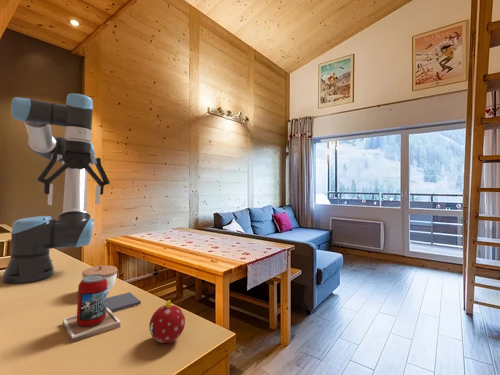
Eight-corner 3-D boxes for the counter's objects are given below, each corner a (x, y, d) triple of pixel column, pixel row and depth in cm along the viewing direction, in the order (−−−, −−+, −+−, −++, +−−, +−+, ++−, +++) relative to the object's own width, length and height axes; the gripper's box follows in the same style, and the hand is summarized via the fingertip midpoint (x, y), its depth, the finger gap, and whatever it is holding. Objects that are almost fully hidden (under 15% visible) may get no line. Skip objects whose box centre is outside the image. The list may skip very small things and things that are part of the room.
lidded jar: (100, 300, 85) (102, 271, 85) (73, 296, 88) (74, 268, 88) (122, 288, 96) (124, 262, 96) (97, 284, 98) (99, 259, 98)
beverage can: (84, 331, 66) (86, 284, 66) (71, 322, 70) (73, 278, 70) (110, 320, 72) (112, 277, 72) (97, 313, 75) (99, 271, 75)
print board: (62, 324, 71) (62, 318, 71) (106, 311, 78) (107, 306, 78) (72, 342, 63) (72, 336, 63) (120, 326, 71) (120, 321, 71)
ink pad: (100, 302, 84) (101, 299, 84) (129, 295, 90) (129, 292, 90) (110, 312, 78) (110, 309, 78) (140, 304, 84) (140, 301, 84)
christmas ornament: (190, 341, 66) (192, 302, 66) (158, 355, 60) (160, 312, 60) (173, 327, 72) (175, 291, 72) (142, 338, 66) (144, 299, 66)
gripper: (31, 133, 76) (27, 205, 77) (121, 146, 94) (118, 204, 94) (28, 136, 82) (25, 203, 82) (113, 147, 100) (110, 203, 100)
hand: (74, 204), depth 88 cm, fingers open, 13 cm apart
